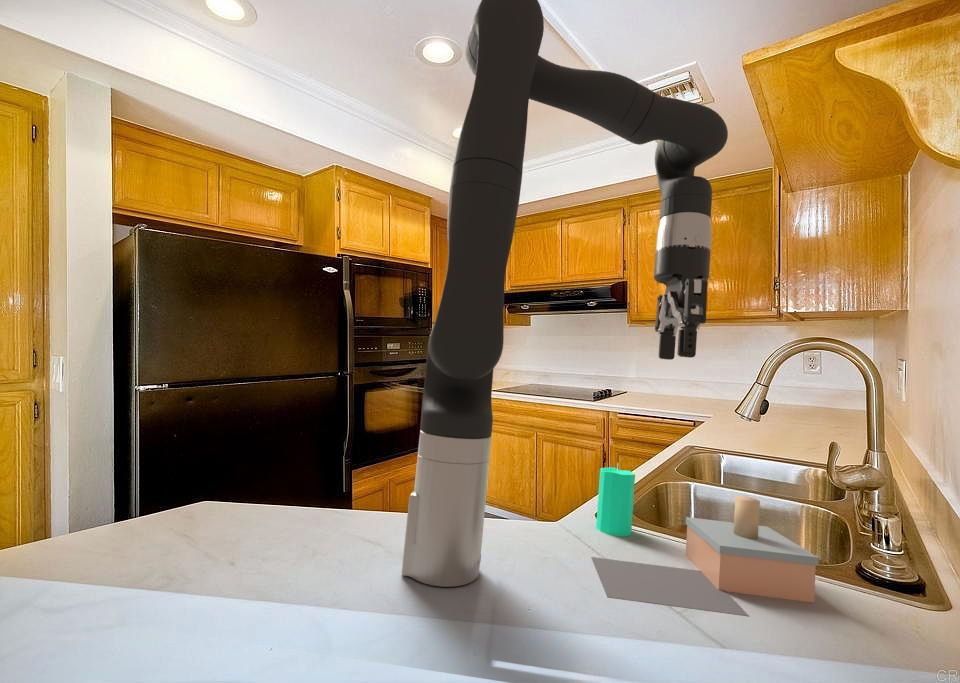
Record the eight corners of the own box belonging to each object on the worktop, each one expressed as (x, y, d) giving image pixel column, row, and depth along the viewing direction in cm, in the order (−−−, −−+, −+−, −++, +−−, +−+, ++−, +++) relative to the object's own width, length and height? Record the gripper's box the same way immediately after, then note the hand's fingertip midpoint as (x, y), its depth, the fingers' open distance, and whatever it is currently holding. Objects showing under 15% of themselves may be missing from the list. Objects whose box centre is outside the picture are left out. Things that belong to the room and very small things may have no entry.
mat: (607, 600, 54) (607, 596, 54) (590, 559, 66) (591, 556, 66) (749, 619, 52) (749, 615, 52) (706, 574, 64) (706, 571, 64)
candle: (626, 541, 75) (631, 467, 76) (590, 531, 78) (596, 461, 79) (635, 532, 80) (639, 463, 81) (601, 523, 83) (605, 457, 84)
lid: (719, 553, 59) (722, 506, 59) (685, 523, 70) (687, 484, 71) (818, 565, 57) (820, 517, 58) (766, 533, 69) (768, 493, 70)
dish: (718, 593, 58) (720, 553, 59) (685, 557, 70) (687, 524, 70) (814, 605, 57) (815, 564, 58) (764, 567, 69) (766, 533, 69)
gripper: (643, 260, 75) (636, 358, 74) (672, 233, 61) (664, 353, 60) (690, 263, 75) (684, 362, 73) (731, 237, 60) (724, 358, 59)
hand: (675, 358), depth 67 cm, fingers open, 8 cm apart
